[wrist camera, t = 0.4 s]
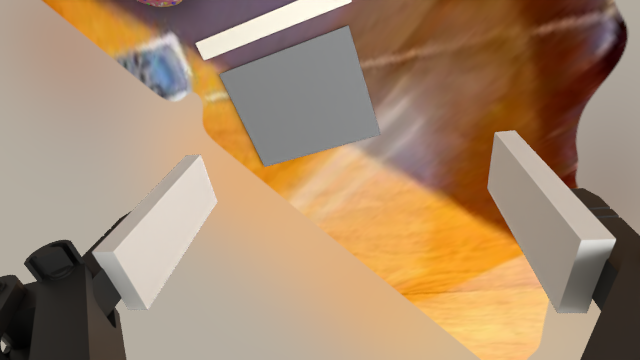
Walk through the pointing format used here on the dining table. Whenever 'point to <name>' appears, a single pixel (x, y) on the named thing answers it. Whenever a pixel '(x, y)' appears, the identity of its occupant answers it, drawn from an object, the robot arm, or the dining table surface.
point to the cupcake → (160, 2)
